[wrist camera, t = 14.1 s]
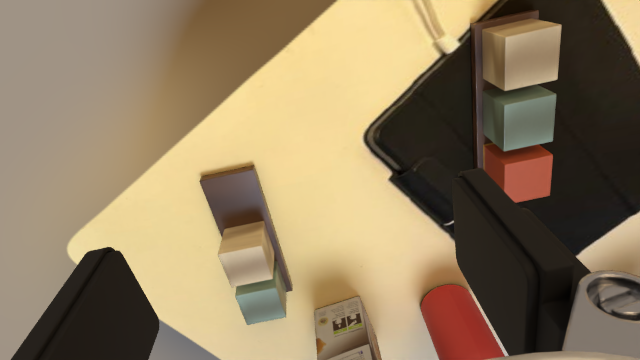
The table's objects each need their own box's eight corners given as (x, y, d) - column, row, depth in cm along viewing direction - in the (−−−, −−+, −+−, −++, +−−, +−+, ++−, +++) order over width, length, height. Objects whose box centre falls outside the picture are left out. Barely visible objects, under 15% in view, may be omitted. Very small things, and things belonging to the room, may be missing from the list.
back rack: (201, 176, 41) (189, 203, 36) (254, 165, 41) (249, 191, 36) (247, 294, 49) (243, 329, 44) (292, 285, 49) (292, 319, 44)
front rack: (470, 23, 36) (497, 32, 31) (532, 9, 36) (570, 15, 31) (474, 183, 44) (496, 209, 39) (525, 172, 43) (554, 197, 39)
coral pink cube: (484, 145, 40) (504, 164, 36) (527, 136, 40) (553, 154, 36) (484, 183, 42) (504, 205, 38) (526, 174, 42) (549, 195, 38)
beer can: (450, 272, 49) (494, 356, 39) (480, 299, 52) (528, 384, 41) (408, 302, 51) (439, 389, 41) (439, 327, 54) (476, 415, 43)
